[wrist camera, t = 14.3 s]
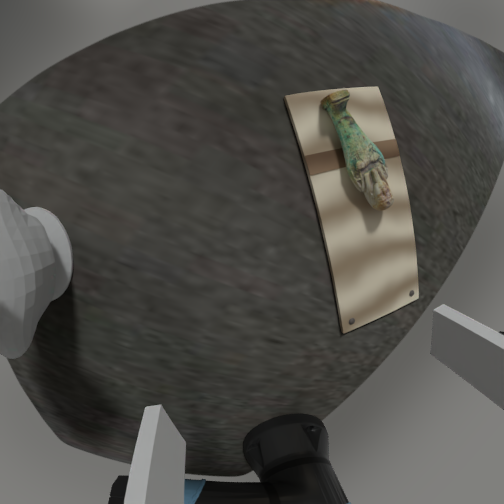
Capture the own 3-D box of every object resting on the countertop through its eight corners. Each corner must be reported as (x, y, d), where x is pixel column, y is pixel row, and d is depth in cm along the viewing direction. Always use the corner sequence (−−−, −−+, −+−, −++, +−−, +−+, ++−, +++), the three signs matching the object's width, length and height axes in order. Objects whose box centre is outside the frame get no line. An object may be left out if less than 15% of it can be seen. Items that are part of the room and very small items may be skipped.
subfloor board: (415, 296, 37) (419, 298, 36) (341, 331, 36) (343, 334, 36) (375, 88, 30) (378, 86, 29) (283, 97, 29) (285, 95, 28)
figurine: (351, 93, 29) (366, 84, 25) (388, 203, 33) (405, 205, 29) (315, 100, 29) (327, 90, 25) (356, 216, 32) (371, 219, 29)
